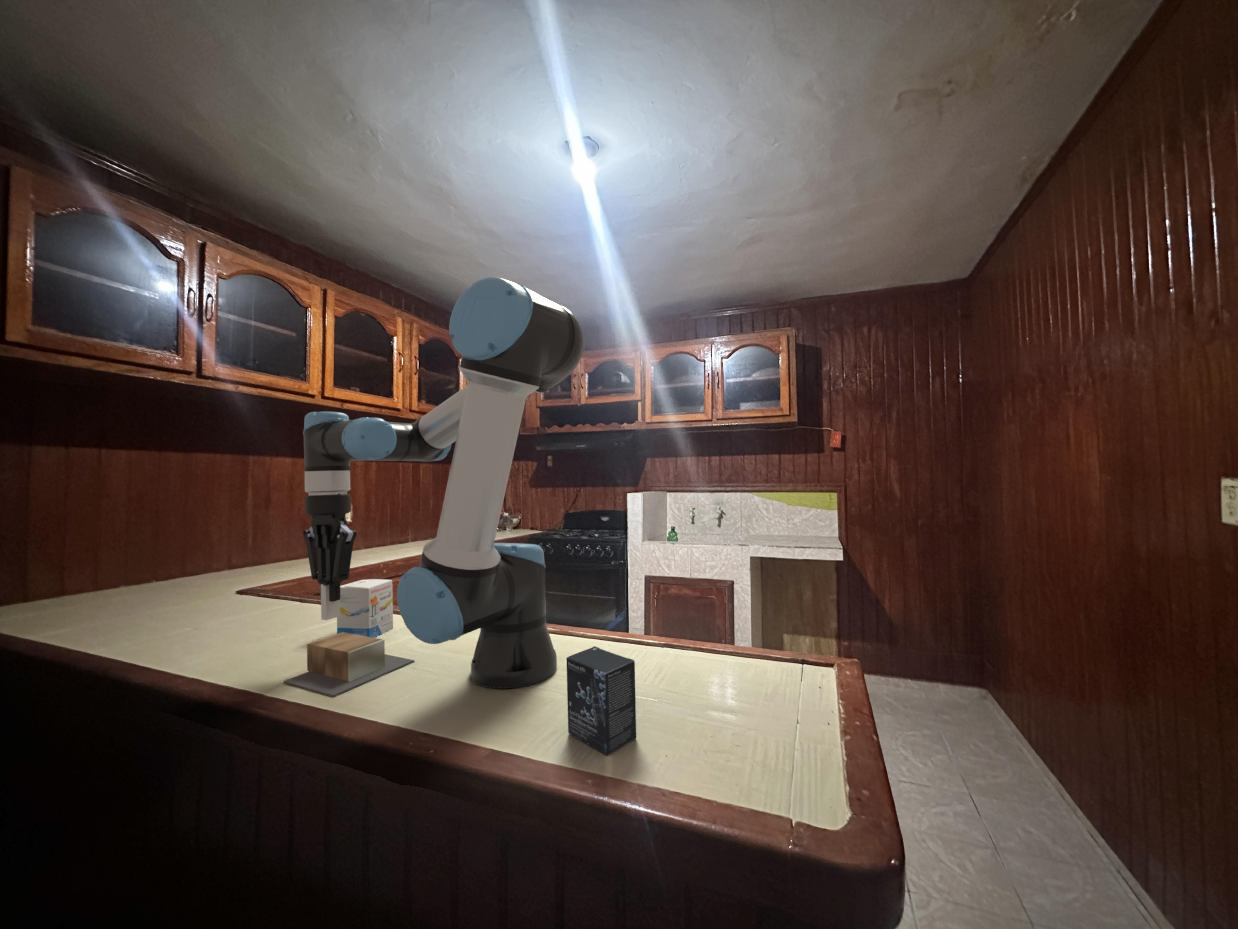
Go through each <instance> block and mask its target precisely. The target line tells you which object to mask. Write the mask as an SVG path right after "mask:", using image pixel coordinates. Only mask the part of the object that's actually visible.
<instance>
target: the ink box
mask: <svg viewBox="0 0 1238 929" xmlns="http://www.w3.org/2000/svg"><path fill="white" fill-rule="evenodd" d="M393 595H394V594H393V580H392V579H384V578H383V579H379V578H377V579H376V578H369V579H360V580H357V581H353V582H350V583H346V584H343V585H340V616H339V617H336V634H339V633H342V632H345V633H350V634H356V635H361V636H367V637H372V638H377V637H378V636H381V635H382V634H385V633H386V632H388V631H391V630H393V629H394V610H393V609H394V608H393V607H394V605H393V603H394V602H393V601H394V600H393V598H394V597H393Z"/></svg>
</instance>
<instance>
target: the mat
mask: <svg viewBox="0 0 1238 929" xmlns="http://www.w3.org/2000/svg"><path fill="white" fill-rule="evenodd" d="M412 663H415V660H414V659H410V658H406V657H401V656H396V655H390V654H386V653H385V667H383V668H381V669H378V670H376V671H374V672H371V673H369V674H367V675H364V676H362V677H359V678H357V679H355V680H352V681H346V680H342V679H338V678H333V677H329V676H325V675H321V674H317V673H313V672H309V671H306V672H304V673H302V674H299V675H296V676H294V677H291V678H289V679H285V680H283V681H282V682H283V684H287V685H290V686H294V687H297V688H300V689H304V690H307V691H312V692H315V693H318V694H321V695H325V696H329V697H332V698H336V697H338V696H339V695H342V694H344V693H346V692H349V691H351V690H353V689H355V688H357V687H358V688H359V687H360V686H362V685H365V684H367V683H369V682H371V681H374V680H376V679H378V678H381V677H382V676H385V675H388V674H390V673H392V672H395V671H396V670H399V669H402V668H403V667H406V666H407V665H410V664H412Z"/></svg>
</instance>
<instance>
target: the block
mask: <svg viewBox="0 0 1238 929" xmlns="http://www.w3.org/2000/svg"><path fill="white" fill-rule="evenodd" d="M385 654H386V649H385V639H382V638H377V637H374V638H372V637H367V636H361V635H356V634H350V633H345V632H342V633H339V634H337V633H336V634H333V635H330V636H326V637H324V638H321V639H318V640H314V641H312V642H308V643H306V664H307V666H306V668H307V669H306V670H307V671H306V672H313V673H317V674H321V675H325V676H329V677H333V678H338V679H342V680H346V681H352V680H355V679H357V678H359V677H362V676H364V675H367V674H369V673H371V672H374V671H376V670H378V669H381V668H383V667H385Z"/></svg>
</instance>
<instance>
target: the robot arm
mask: <svg viewBox="0 0 1238 929" xmlns="http://www.w3.org/2000/svg"><path fill="white" fill-rule="evenodd" d="M448 330H449V336H450V338H451V339H452V340H451V343H452V346H453V347H454V349H455V350H456V351H457V353H458V354H460V355H461V360H460V364H459V371H460V372H461V374H462V376H463V377H464V379H465V380H466V383H467V385H465V386H464V387H463V388H461V389H460V390H458V391H457V392H455V393H454V394H452V395H451V396H450V397H448V398H447V399H446V400H444V401H443V402H442V403H441V402H440V404H438V405H437V406H435V407H434V408H433V409H431V410H430V411H429V412H427V413H426V414H425V415H423V416H422V417H420V418H418V419H416V421H414V422H410V423H408V422H398V421H397V422H394V421H386V420H384V419H383V418H380V417H368V416H367V417H366V416H364V417H359V418H355V419H350V417H349V415H348V414H346V413H344V412H340V411H339V412H338V411H311V412H308V413H307V414H305V416H304V423H303V424H304V425H303V426H304V427H303V432H302V436H303V453H304V454H303V456H304V457H303V458H304V459H303V460H304V492H305V493H307V494H308V495H306V497H305V498H304V501H305V502H304V503H305V504H304V506H305V507H304V510H305V515H307V516H312V518H311V522H310V527H309V529H304V530H302V536H303V539H304V541H305V544H306V551H307V557H308V562H309V570H310V574H311V579H312V580H313V581H315V580H316V581H317V583H318V584H319V585H320V586H319V587H320V588H319V589H320V591H319V593H320V613H321V614H320V615H321V616H320V617H321V620H323V621H329V620H331V619H337V617H339V616H340V586H341V583H342V582H343V581H346V580H348V579H349V576H350V569H351V563H352V555H353V549H354V548H353V547H354V542H355V539H356V537H357V534H358V532H357V530H355V529H350V528H349V527H348V521H347V518H346V515H347V514H349V513H350V512H351V511H352V496H351V494H350V493H348V492H349V491H351V462H356V461H357V462H359V461H361V462H362V461H366V462H367V461H370V462H371V461H373V462H374V461H377V462H381V461H383V462H385V461H387V462H388V461H390V462H393V461H396V462H398V461H400V462H401V461H402V462H423V463H428V462H435V461H436V462H438V461H442V460H444V458H446V457H447V456H448V454H449V452H450V451H451V449H452V448H451V447H452V444H453V443H454V444H455V445H454V449H453V455H452V460H451V465H450V469H449V475H448V479H447V483H446V484H447V485H446V487H445V488H446V489H445V493H444V499H443V502H442V509H441V511H440V518H439V521H438V522H439V523H438V528H437V533H436V536H435V537H434V538H433V539H431V540H429V541H428V542H426V543H425V544H424V545H423V548H422V554H421V557H420V563H419V566H415V567H411V568H409V570H407V572H405V573H404V574H402V575H401V577H400V579H399V581H398V585H397V591H396V601H397V607H398V612H399V613H400V616H401V618H402V620H403V623H404V625H405V627H406V628H407V629H408V631H410V633H411V634H412V635H413V637H415V638H416V639H418V640H420V641H421V642H423V643H425V644H429V645H438V644H442V643H446V642H449V641H455V640H457V639H458V638H461V636H464V635H466V634H469V633H471V632H473V631H474V632H475V631H476V630H479V629H480V631H479V635H478V639H477V642H476V646H475V650H474V654H473V658H472V660H471V662H470V678H471V680H472V681H473V683H475V684H477V685H478V686H482V687H485V688H489V689H490V688H492V689H513V688H522V687H527V686H531V685H534V684H537V683H541V682H542V681H544V680H547V679H548V678H550V677H551V676H552V675H553V674H555V672H556V671H557V668H558V663H557V652H556V650H555V649H554V645H553V642H552V639H551V636H550V632H549V630H548V627H547V626H548V625H547V617H546V616H547V614H546V610H547V609H546V608H547V606H546V568H547V567H546V563H545V553H544V549H543V548H542V546H540V545H538V544H536V543H535V544H534V543H517V542H495V540H496V535H497V532H498V529H499V528H498V526H499V522H500V518H501V514H502V510H503V504H504V499H505V494H506V491H507V485H508V483H509V477H510V474H511V472H510V471H511V469H512V468H511V467H512V465H513V464H512V463H513V459H514V455H515V449H516V446H517V440H518V437H519V433H520V426H521V422H522V418H523V413H524V408H525V405H526V399H527V398H528V396H530V395H531V394H533V393H537V394H544V393H545V392H547V391H548V390H550V389H552V388H553V387H555V386H557V385H558V384H559V383H561V382H562V381H564V380H565V379H566V378H568V377H569V376H570V374H572V373H573V372H574V371H575V369H576V368H577V367H578V365H579V363H580V361H581V359H582V355H583V353H584V345H585V339H584V333H583V329H582V326H581V324H580V322H579V320H578V319H577V317H576V316H575V315H574V314H573V313H572V312H571V311H570V310H569V309H568V308H567V307H565V306H563V305H562V304H559V303H556V302H554V301H552V300H549V299H548V298H546V297H544V296H542V295H540V294H539V293H537V292H535V291H533V290H532V289H529V288H528V287H526V286H525V285H523V284H520V283H516V282H513V281H510V280H507V279H505V278H501V277H498V276H497V277H496V276H491V277H490V276H489V277H488V276H487V277H485V278H482V279H479V280H477V281H475V282H473V283H472V285H471V286H470V287H469V288H465V290H464V291H463V292H462V293H461V295H460V296H459V297H458V298H457V301H456V302H455V304H454V307H453V309H452V312H451V315H450V318H449V326H448Z"/></svg>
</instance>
